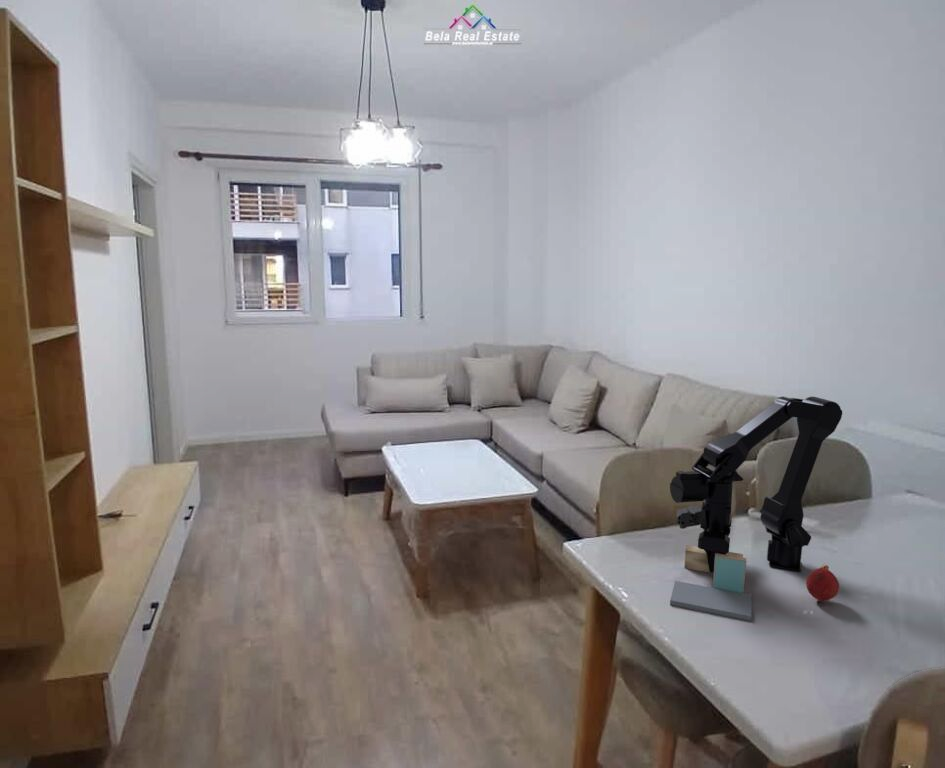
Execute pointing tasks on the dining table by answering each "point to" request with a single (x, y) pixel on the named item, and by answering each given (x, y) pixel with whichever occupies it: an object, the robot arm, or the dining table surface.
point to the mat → (711, 600)
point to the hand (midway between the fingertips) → (713, 565)
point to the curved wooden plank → (699, 558)
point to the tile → (729, 573)
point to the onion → (822, 584)
